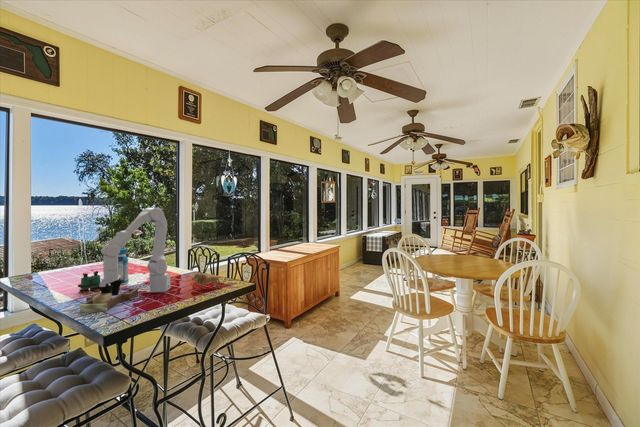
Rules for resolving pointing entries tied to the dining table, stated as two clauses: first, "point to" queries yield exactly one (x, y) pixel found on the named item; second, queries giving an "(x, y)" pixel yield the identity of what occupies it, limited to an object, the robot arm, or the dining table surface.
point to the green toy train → (90, 283)
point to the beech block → (102, 298)
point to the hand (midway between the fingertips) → (111, 297)
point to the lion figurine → (206, 280)
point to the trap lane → (92, 307)
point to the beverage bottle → (123, 265)
